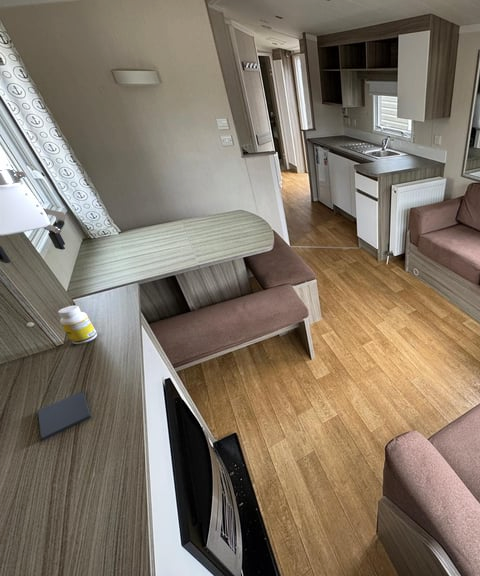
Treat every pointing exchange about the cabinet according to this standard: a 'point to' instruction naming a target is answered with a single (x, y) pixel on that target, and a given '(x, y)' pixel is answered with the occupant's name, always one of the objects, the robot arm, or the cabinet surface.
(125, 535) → the cabinet surface
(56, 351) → the cabinet surface
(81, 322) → the supplement bottle
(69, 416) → the mat
